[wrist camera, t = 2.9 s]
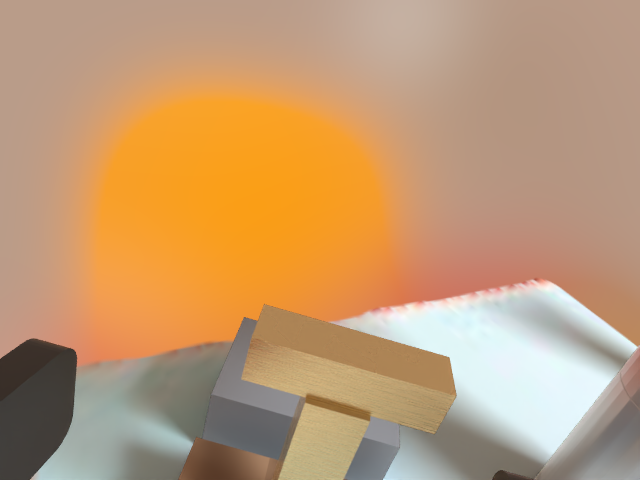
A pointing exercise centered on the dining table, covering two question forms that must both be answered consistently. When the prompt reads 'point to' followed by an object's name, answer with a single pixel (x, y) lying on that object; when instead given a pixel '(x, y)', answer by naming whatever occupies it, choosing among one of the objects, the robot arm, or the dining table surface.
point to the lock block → (225, 463)
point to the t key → (342, 388)
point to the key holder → (280, 417)
